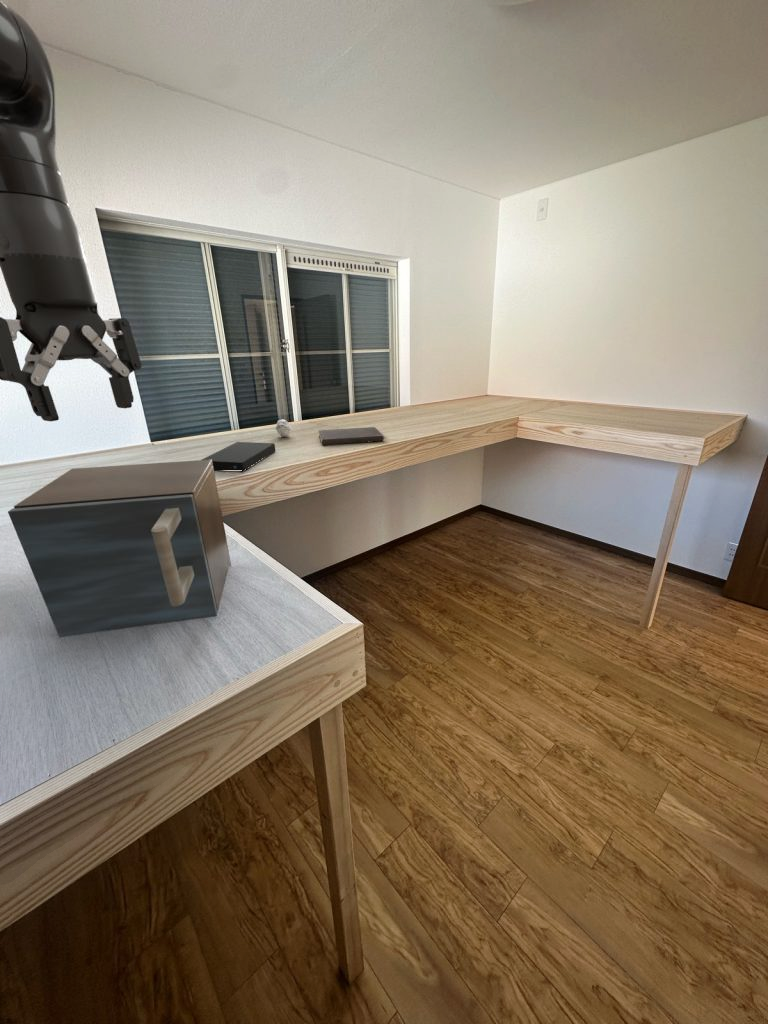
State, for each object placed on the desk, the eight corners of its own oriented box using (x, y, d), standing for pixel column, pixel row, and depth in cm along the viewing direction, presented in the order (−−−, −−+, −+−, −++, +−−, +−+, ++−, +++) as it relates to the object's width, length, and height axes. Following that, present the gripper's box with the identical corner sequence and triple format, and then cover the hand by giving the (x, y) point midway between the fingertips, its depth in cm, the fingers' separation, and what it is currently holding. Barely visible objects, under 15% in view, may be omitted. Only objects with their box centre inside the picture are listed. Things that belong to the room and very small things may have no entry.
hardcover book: (318, 435, 166) (318, 430, 165) (375, 432, 170) (375, 426, 169) (322, 445, 151) (321, 439, 151) (383, 441, 156) (383, 435, 155)
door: (210, 657, 54) (178, 518, 46) (34, 683, 50) (-34, 538, 42) (219, 619, 61) (193, 493, 53) (65, 640, 57) (12, 508, 49)
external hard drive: (275, 451, 145) (274, 443, 144) (243, 472, 124) (242, 462, 123) (237, 450, 147) (236, 441, 146) (200, 470, 126) (198, 460, 125)
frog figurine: (274, 438, 162) (272, 421, 159) (279, 434, 168) (277, 417, 166) (289, 438, 162) (288, 421, 159) (294, 434, 168) (292, 417, 165)
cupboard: (219, 619, 61) (193, 492, 53) (66, 639, 57) (13, 506, 49) (231, 567, 74) (212, 459, 66) (108, 581, 70) (71, 468, 62)
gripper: (91, 266, 50) (127, 402, 57) (-65, 249, 39) (3, 422, 45) (130, 261, 47) (163, 406, 54) (-27, 240, 36) (39, 428, 42)
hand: (90, 413), depth 50 cm, fingers open, 8 cm apart
